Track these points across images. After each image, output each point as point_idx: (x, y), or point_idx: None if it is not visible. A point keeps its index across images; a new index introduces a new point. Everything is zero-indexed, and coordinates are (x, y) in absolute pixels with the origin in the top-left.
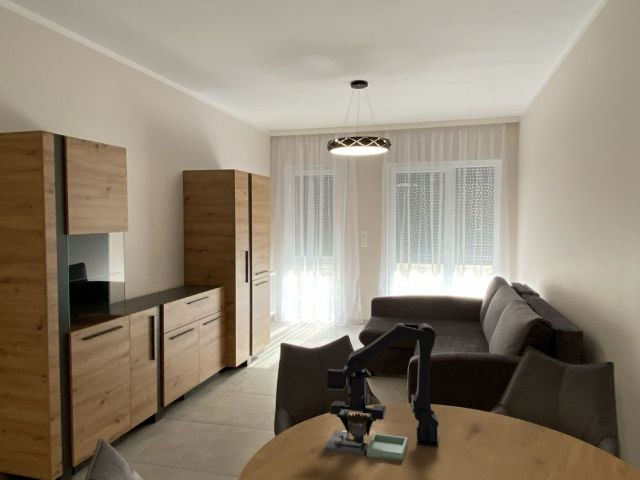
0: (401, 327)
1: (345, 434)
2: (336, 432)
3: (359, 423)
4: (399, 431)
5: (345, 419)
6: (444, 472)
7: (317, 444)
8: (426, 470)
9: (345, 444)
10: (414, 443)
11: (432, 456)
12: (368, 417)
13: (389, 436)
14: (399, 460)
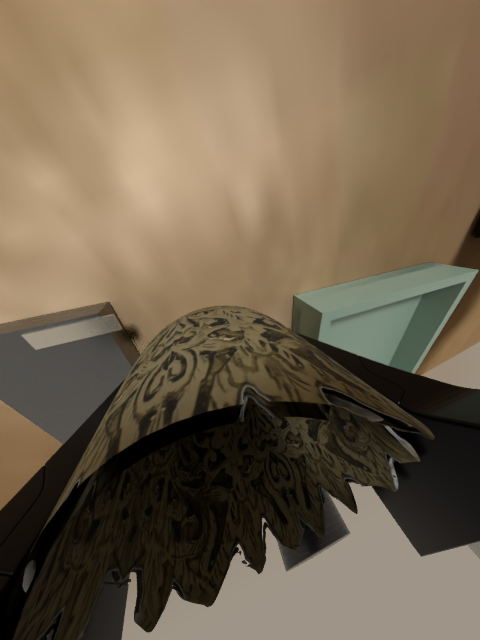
0: None
1: (110, 366)
2: (5, 379)
3: (302, 519)
4: (460, 37)
5: (116, 636)
6: (450, 354)
7: (42, 465)
8: (420, 368)
9: None
10: (461, 231)
11: (466, 302)
12: (451, 547)
13: (399, 299)
14: None
